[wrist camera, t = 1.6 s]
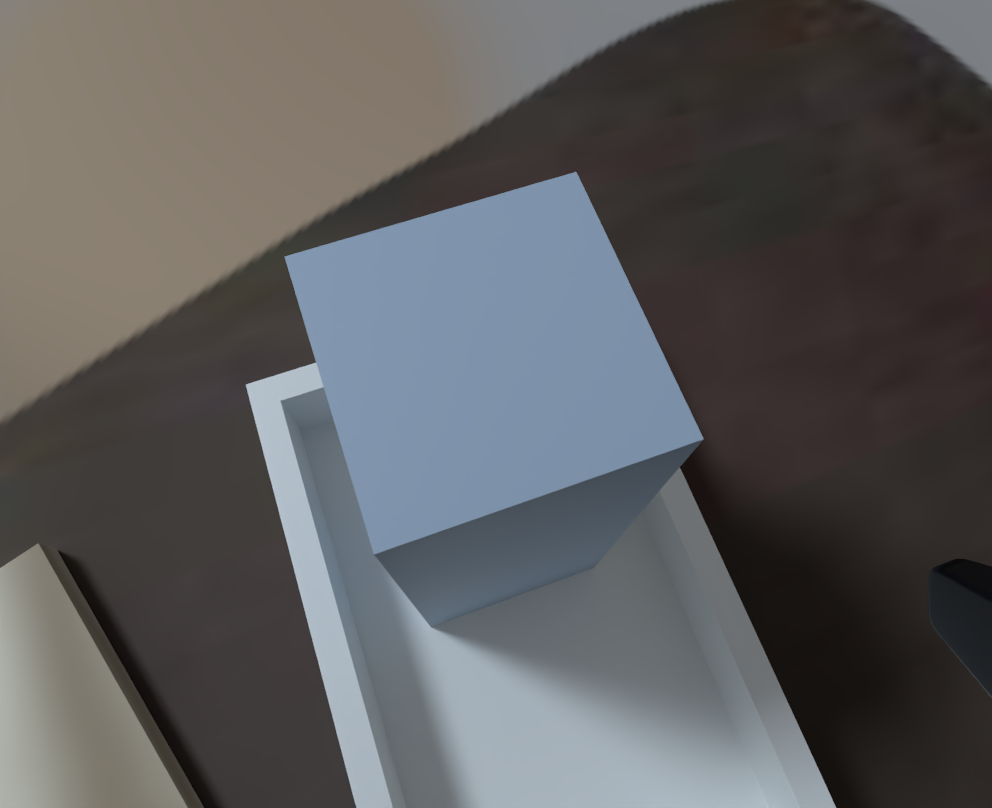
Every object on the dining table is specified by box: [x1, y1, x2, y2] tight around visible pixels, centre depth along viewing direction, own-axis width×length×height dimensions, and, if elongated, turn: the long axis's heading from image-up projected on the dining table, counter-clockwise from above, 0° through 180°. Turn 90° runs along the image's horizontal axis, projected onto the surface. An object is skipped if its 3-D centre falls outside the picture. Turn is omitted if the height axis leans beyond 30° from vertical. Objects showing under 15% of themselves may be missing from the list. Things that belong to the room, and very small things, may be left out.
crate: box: [246, 363, 836, 808], centre depth 21 cm, size 17×11×3 cm, turn 20°
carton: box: [285, 172, 703, 627], centre depth 17 cm, size 5×5×12 cm
